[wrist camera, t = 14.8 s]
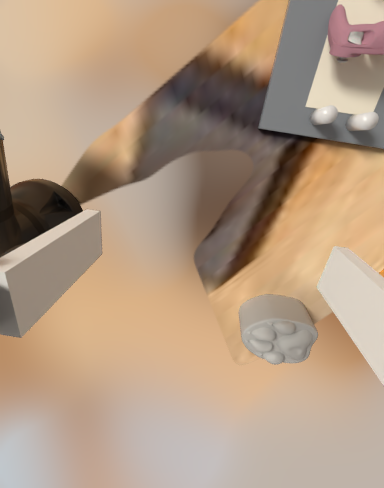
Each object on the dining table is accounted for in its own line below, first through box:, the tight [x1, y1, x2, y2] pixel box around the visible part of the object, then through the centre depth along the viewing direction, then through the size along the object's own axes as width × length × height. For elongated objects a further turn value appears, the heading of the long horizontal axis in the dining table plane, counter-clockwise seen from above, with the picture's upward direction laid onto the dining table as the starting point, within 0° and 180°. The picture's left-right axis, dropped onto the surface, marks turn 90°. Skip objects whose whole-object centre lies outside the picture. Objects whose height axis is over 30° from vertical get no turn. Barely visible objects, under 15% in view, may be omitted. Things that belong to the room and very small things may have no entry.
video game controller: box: [328, 4, 384, 63], centre depth 27 cm, size 10×5×7 cm, turn 89°
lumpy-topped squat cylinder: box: [239, 294, 318, 364], centre depth 45 cm, size 10×13×9 cm
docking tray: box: [258, 0, 384, 149], centre depth 28 cm, size 20×20×5 cm
